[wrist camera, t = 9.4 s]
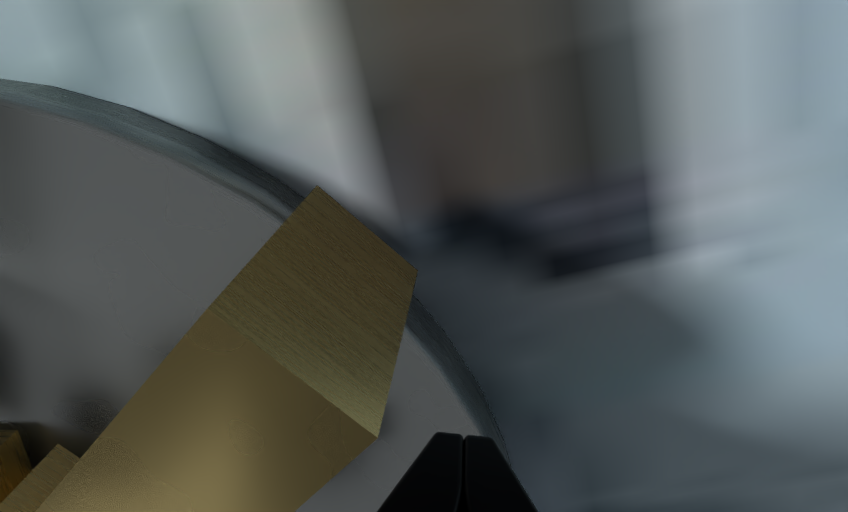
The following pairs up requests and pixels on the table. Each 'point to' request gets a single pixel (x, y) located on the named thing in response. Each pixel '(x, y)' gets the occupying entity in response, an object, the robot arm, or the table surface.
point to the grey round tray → (161, 282)
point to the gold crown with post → (248, 386)
